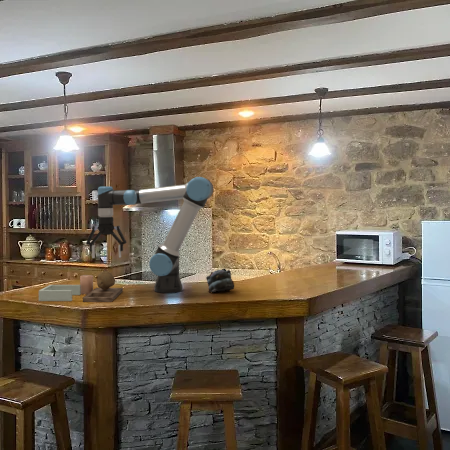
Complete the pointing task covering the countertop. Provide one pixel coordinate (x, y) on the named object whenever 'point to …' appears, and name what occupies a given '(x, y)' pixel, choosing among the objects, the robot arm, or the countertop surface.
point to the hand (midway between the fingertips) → (106, 257)
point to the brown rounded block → (86, 284)
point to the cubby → (59, 292)
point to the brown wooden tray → (103, 295)
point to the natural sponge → (105, 280)
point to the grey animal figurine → (220, 281)
